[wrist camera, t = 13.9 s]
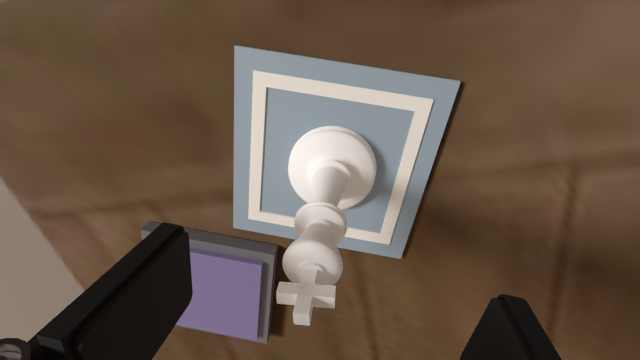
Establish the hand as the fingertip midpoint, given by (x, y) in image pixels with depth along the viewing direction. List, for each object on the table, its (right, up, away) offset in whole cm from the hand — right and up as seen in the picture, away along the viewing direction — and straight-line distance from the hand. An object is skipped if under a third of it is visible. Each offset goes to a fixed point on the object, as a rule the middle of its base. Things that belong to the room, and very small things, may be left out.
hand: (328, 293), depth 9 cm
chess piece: (0, +4, +8) cm, 9 cm away
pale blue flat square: (0, +4, +8) cm, 9 cm away
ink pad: (-8, -4, +13) cm, 16 cm away
